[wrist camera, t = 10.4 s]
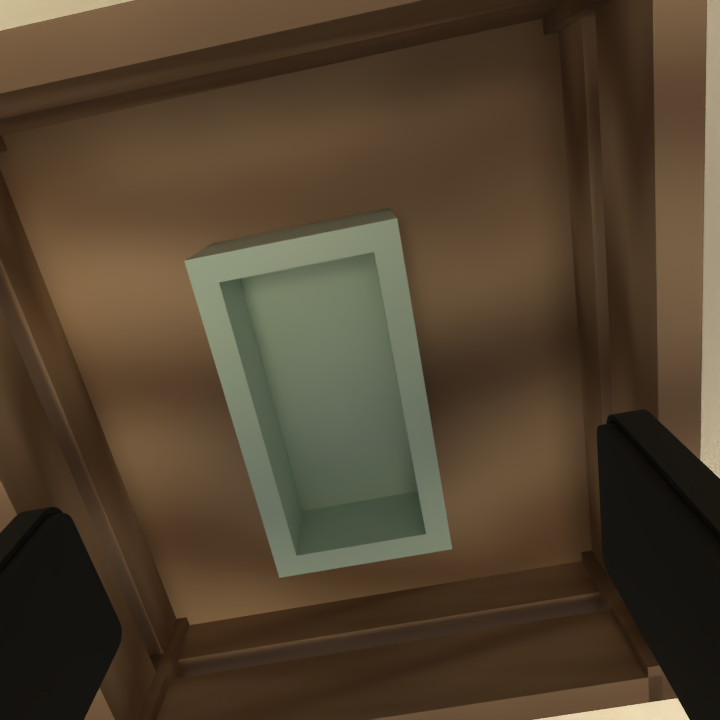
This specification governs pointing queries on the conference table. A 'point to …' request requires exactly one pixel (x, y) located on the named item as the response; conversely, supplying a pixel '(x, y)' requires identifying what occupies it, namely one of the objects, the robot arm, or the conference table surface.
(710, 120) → the conference table surface
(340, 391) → the box
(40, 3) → the conference table surface
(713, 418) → the conference table surface
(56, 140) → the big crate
